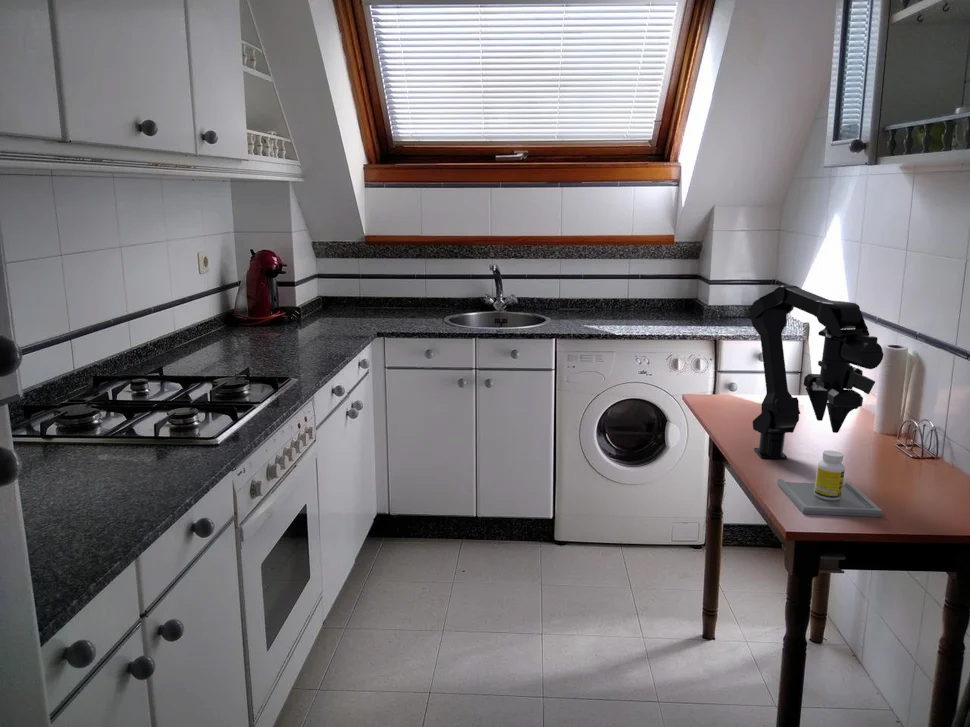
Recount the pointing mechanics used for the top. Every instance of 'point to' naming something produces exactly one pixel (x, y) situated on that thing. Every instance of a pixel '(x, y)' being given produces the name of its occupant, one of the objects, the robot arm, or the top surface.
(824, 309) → the robot arm
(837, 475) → the supplement bottle
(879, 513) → the gray tray
